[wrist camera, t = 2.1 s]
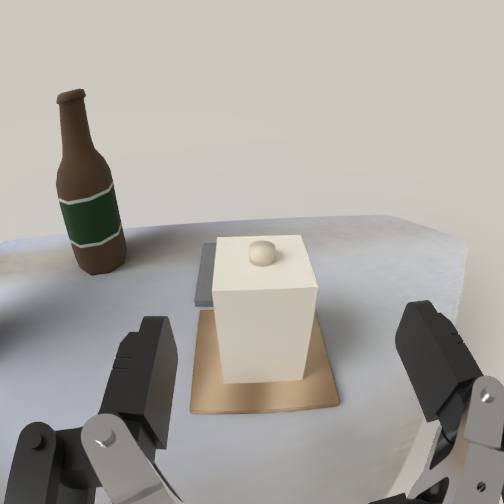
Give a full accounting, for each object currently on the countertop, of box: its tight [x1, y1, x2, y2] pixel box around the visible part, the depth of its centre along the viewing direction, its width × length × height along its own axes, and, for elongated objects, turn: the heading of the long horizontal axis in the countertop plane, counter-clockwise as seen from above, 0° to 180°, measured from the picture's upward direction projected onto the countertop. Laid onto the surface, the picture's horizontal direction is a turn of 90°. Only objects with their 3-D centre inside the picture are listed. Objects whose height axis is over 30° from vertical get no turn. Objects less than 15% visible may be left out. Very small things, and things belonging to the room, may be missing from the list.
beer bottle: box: [56, 89, 127, 275], centre depth 35 cm, size 8×8×24 cm
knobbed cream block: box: [212, 235, 318, 384], centre depth 24 cm, size 7×7×11 cm
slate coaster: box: [195, 243, 217, 306], centre depth 39 cm, size 12×12×1 cm
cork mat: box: [190, 310, 339, 414], centre depth 28 cm, size 12×12×1 cm
